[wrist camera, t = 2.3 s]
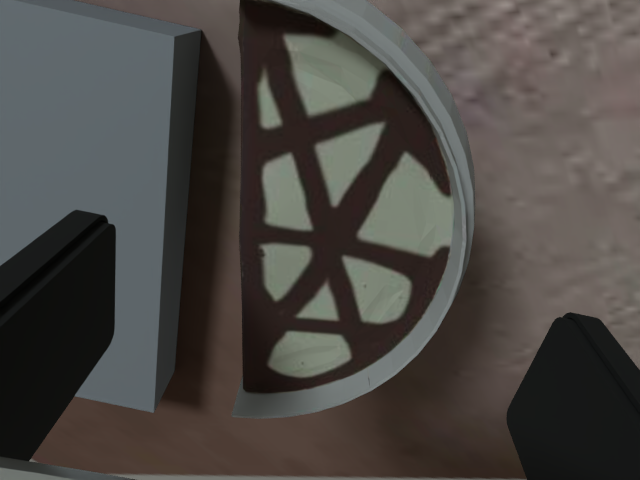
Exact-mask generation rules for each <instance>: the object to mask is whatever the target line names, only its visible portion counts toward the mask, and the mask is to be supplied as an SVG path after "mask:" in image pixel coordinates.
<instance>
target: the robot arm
mask: <svg viewBox="0 0 640 480" xmlns="http://www.w3.org/2000/svg"><path fill="white" fill-rule="evenodd" d="M115 269H116V228H115V226H114V225H113V224H109V223H108V219H107V217H106V216H105V215H100V214H96V213H91V212H86V211H81V210H74V211H72V212H71V213H69V214H68V215H67V216H65V217H64V218H63V219H61V220H60V221H59V222H58V223H56V224H55V225H54V226H52V227H51V228H50V229H48V230H47V231H46V232H44V233H43V234H42V235H40V236H39V237H38V238H36V239H35V240H34V241H32V242H31V243H30V244H28V245H27V246H26V247H25V248H23V249H22V250H21V251H19V252H18V253H17V254H15V255H14V256H13V257H11V258H10V259H9V260H7V261H6V262H5V263H3V264H2V265H1V266H0V480H135V479H129V478H124V477H118V476H113V475H107V474H102V473H96V472H90V471H84V470H78V469H72V468H66V467H60V466H54V465H48V464H42V463H36V462H30V461H29V460H30V459H31V457H32V456H33V454H34V453H35V452H36V450H37V449H38V447H39V446H40V444H41V443H42V442H43V440H44V439H45V437H46V436H47V434H48V433H49V432H50V430H51V429H52V427H53V426H54V424H55V423H56V422H57V420H58V419H59V417H60V416H61V414H62V413H63V412H64V410H65V409H66V407H67V406H68V404H69V403H70V402H71V400H72V399H73V397H74V396H75V394H76V393H77V392H78V390H79V389H80V387H81V386H82V384H83V383H84V382H85V380H86V379H87V377H88V376H89V374H90V373H91V372H92V370H93V369H94V367H95V366H96V364H97V363H98V362H99V360H100V359H101V357H102V356H103V354H104V353H105V352H106V350H107V349H108V347H109V346H110V344H111V341H112V339H113V336H114V330H115ZM507 425H508V428H509V431H510V434H511V436H512V439H513V442H514V444H515V447H516V450H517V453H518V455H519V458H520V461H521V464H522V466H523V469H524V472H525V474H526V477H527V480H640V370H639V369H638V368H637V366H636V365H635V364H634V362H633V361H632V360H631V359H630V357H629V356H628V355H627V353H626V352H625V351H624V350H623V348H622V347H621V346H620V344H619V343H618V342H617V341H616V339H615V338H614V337H613V335H612V334H611V333H610V332H609V330H608V329H607V328H606V326H605V325H604V324H603V323H602V321H601V320H599V319H598V318H595V317H590V316H585V315H580V314H575V313H571V312H570V313H567V314H565V315H564V316H563V317H559V318H557V319H555V320H554V322H553V323H552V325H551V327H550V329H549V331H548V333H547V335H546V337H545V339H544V341H543V343H542V344H541V346H540V348H539V350H538V352H537V354H536V356H535V358H534V360H533V362H532V364H531V366H530V367H529V369H528V371H527V373H526V375H525V377H524V379H523V381H522V383H521V385H520V387H519V388H518V390H517V392H516V394H515V396H514V398H513V400H512V402H511V404H510V406H509V408H508V411H507Z"/></svg>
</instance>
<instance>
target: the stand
mask: <svg viewBox="0 0 640 480" xmlns="http://www.w3.org/2000/svg"><path fill="white" fill-rule="evenodd" d="M200 42H201V29H197V28H192V27H188V26H184V25H179V24H175V23H170V22H166V21H162V20H157V19H153V18H148V17H144V16H140V15H135V14H131V13H126V12H122V11H118V10H113V9H109V8H104V7H100V6H96V5H91V4H87V3H82V2H78V1H74V0H0V266H1V265H2V264H3V263H5V262H6V261H7V260H9V259H10V258H11V257H13V256H14V255H15V254H17V253H18V252H19V251H21V250H22V249H23V248H25V247H26V246H27V245H28V244H30V243H31V242H32V241H34V240H35V239H36V238H38V237H39V236H40V235H42V234H43V233H44V232H46V231H47V230H48V229H50V228H51V227H52V226H54V225H55V224H56V223H58V222H59V221H60V220H61V219H63V218H64V217H65V216H67V215H68V214H69V213H71V212H72V211H74V210H81V211H86V212H91V213H96V214H100V215H105V216H106V217H107V219H108V223H109V224H113V225H114V226H115V228H116V269H115V330H114V336H113V339H112V341H111V344H110V346H109V347H108V349H107V350H106V352H105V353H104V354H103V356H102V357H101V359H100V360H99V362H98V363H97V364H96V366H95V367H94V369H93V370H92V372H91V373H90V374H89V376H88V377H87V379H86V380H85V382H84V383H83V384H82V386H81V387H80V389H79V390H78V392H77V393H76V394H75V396H77V397H81V398H86V399H91V400H96V401H101V402H105V403H110V404H115V405H120V406H124V407H129V408H134V409H139V410H143V411H148V412H153V413H154V412H155V410H156V408H157V406H158V404H159V402H160V400H161V397H162V395H163V393H164V391H165V389H166V387H167V385H168V383H169V381H170V379H171V377H172V375H173V373H174V371H175V359H176V346H177V334H178V321H179V308H180V296H181V283H182V270H183V258H184V245H185V232H186V220H187V207H188V194H189V181H190V169H191V156H192V143H193V131H194V118H195V105H196V93H197V80H198V67H199V55H200Z"/></svg>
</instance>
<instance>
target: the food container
mask: <svg viewBox="0 0 640 480" xmlns="http://www.w3.org/2000/svg"><path fill="white" fill-rule="evenodd" d="M239 14H240V24H239V33H238V40H239V46H240V53H241V190H240V232H239V245H240V265H241V288H242V351H243V376H242V380H241V383H240V387H239V391H238V394H237V398H236V401H235V405H234V409H233V412H232V417H241V418H258V419H261V418H279V417H291V416H297V415H302V414H308V413H313V412H318V411H321V410H325V409H328V408H331V407H334V406H337V405H340V404H344V403H346V402H348V401H351V400H353V399H355V398H357V397H359V396H361V395H363V394H365V393H368V392H370V391H372V390H373V389H375V388H376V387H378V386H379V385H381V384H382V383H384V382H385V381H387V380H388V379H390V378H391V377H393V376H394V375H396V374H397V373H398V372H399V371H400V370H401V369H403V368H404V367H405V366H406V365H407V364H408V363H409V362H410V361H411V360H413V359H414V358H415V357H416V356H417V355H418V354H419V353H420V351H421V350H422V349H423V348H424V346H425V345H426V344H427V342H428V341H429V340H430V339H431V337H432V336H433V335H434V334H435V332H436V331H437V329H438V328H439V326H440V324H441V322H442V320H443V319H444V317H445V315H446V313H447V311H448V310H449V308H450V306H451V304H452V303H453V301H454V299H455V297H456V295H457V294H458V291H459V288H460V285H461V283H462V280H463V277H464V274H465V271H466V268H467V265H468V262H469V257H470V250H471V244H472V238H473V231H474V216H475V184H474V166H473V161H472V156H471V151H470V147H469V142H468V137H467V132H466V130H465V127H464V125H463V122H462V120H461V117H460V115H459V112H458V110H457V107H456V105H455V102H454V100H453V97H452V95H451V94H450V92H449V90H448V89H447V87H446V85H445V84H444V82H443V81H442V79H441V77H440V76H439V74H438V72H437V71H436V69H435V67H434V66H433V64H432V63H431V61H430V60H429V59H428V58H427V57H426V55H425V54H424V53H423V52H422V51H421V50H420V49H419V47H418V46H417V45H416V44H415V43H414V42H413V41H412V39H411V38H410V37H409V36H408V35H407V34H406V33H405V32H404V30H403V29H402V28H400V27H399V26H398V25H397V24H395V23H394V22H393V21H392V20H390V19H389V18H388V17H387V16H386V15H384V14H383V13H382V12H381V11H379V10H378V9H377V8H376V7H374V6H373V5H372V4H371V3H369V2H368V1H366V0H240V7H239Z"/></svg>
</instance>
